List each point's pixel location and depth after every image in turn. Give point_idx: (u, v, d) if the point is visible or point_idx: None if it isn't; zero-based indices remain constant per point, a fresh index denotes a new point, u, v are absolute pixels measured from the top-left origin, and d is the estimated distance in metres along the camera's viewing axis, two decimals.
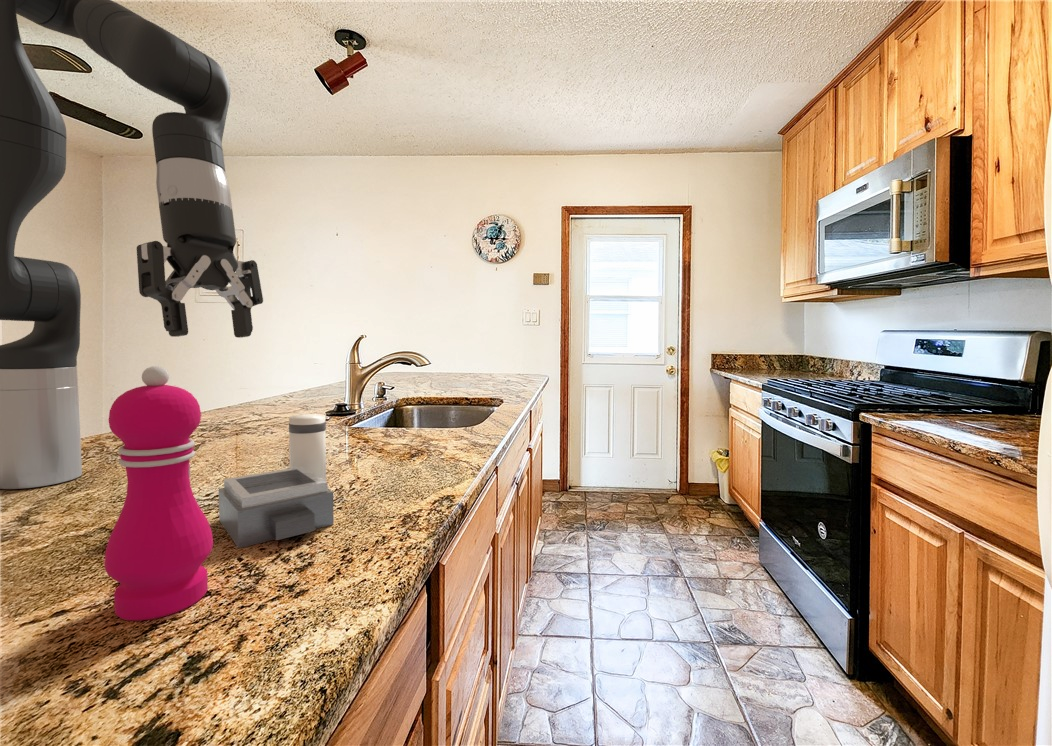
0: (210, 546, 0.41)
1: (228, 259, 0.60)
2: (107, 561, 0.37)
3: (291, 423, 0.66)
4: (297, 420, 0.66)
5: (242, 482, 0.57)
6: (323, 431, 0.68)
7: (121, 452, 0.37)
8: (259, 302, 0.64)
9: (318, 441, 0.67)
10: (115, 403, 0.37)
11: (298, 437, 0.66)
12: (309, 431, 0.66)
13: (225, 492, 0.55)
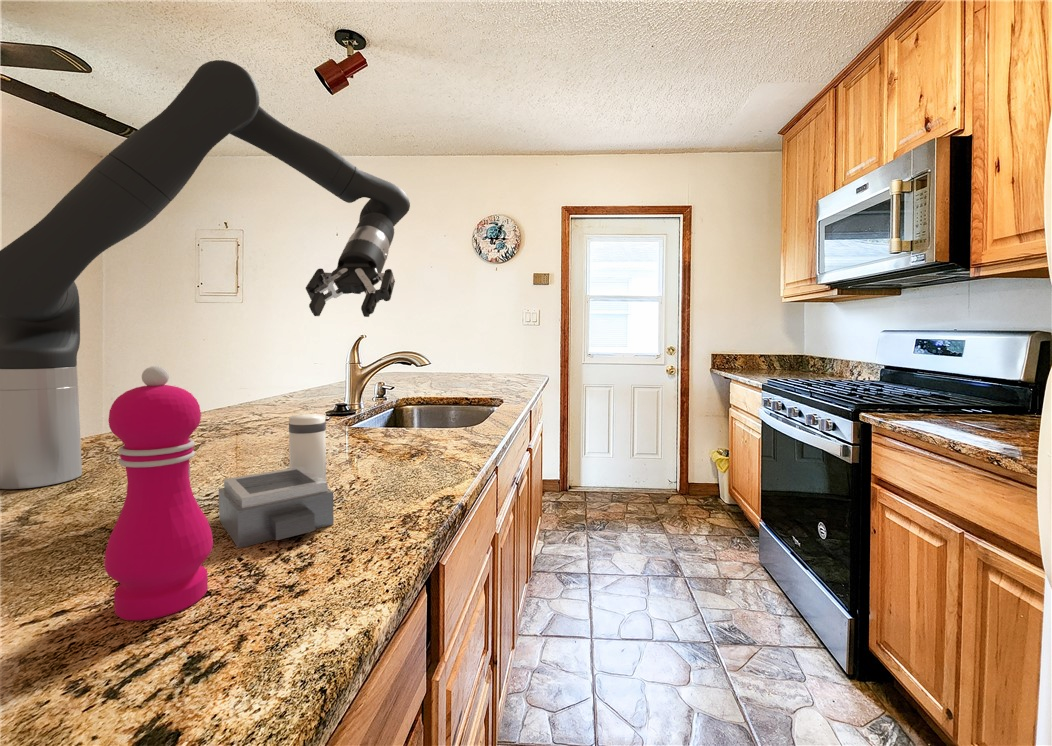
0: (210, 546, 0.41)
1: None
2: (107, 561, 0.37)
3: (291, 423, 0.66)
4: (297, 420, 0.66)
5: (242, 482, 0.57)
6: (323, 431, 0.68)
7: (121, 452, 0.37)
8: None
9: (317, 441, 0.67)
10: (115, 403, 0.37)
11: (298, 437, 0.66)
12: (309, 431, 0.66)
13: (225, 492, 0.55)
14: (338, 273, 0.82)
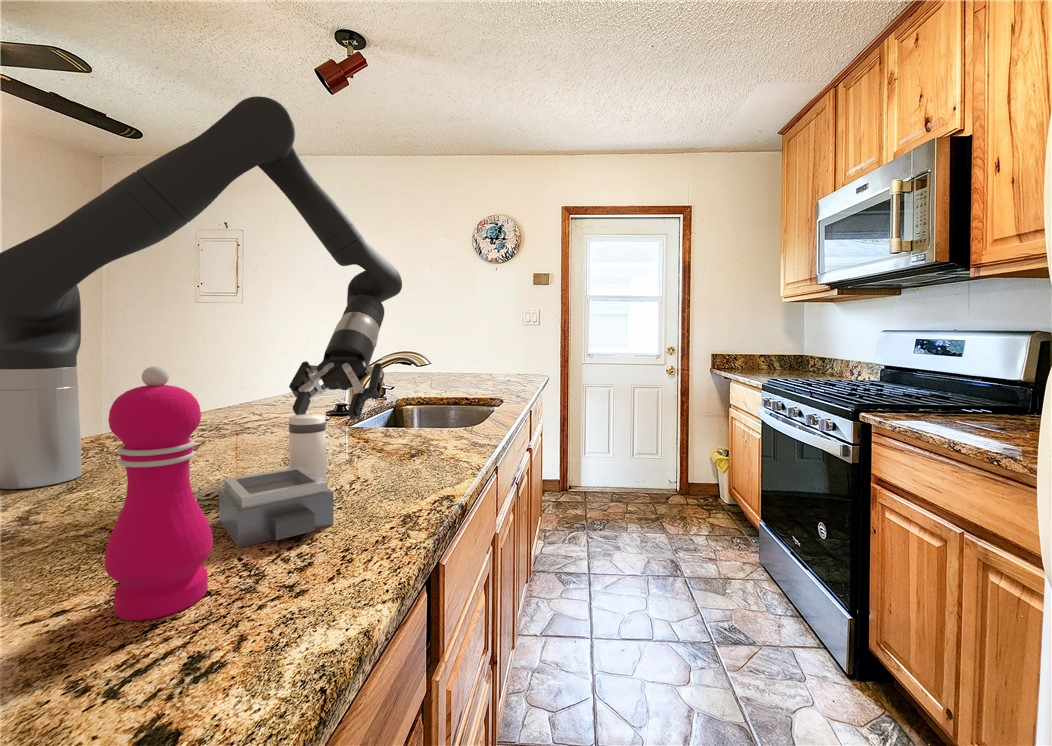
0: (210, 546, 0.41)
1: None
2: (107, 561, 0.37)
3: (291, 423, 0.66)
4: (297, 420, 0.66)
5: (242, 482, 0.57)
6: (323, 431, 0.68)
7: (121, 452, 0.37)
8: None
9: (317, 441, 0.67)
10: (115, 403, 0.37)
11: (298, 437, 0.66)
12: (309, 431, 0.66)
13: (225, 492, 0.55)
14: (324, 369, 0.78)
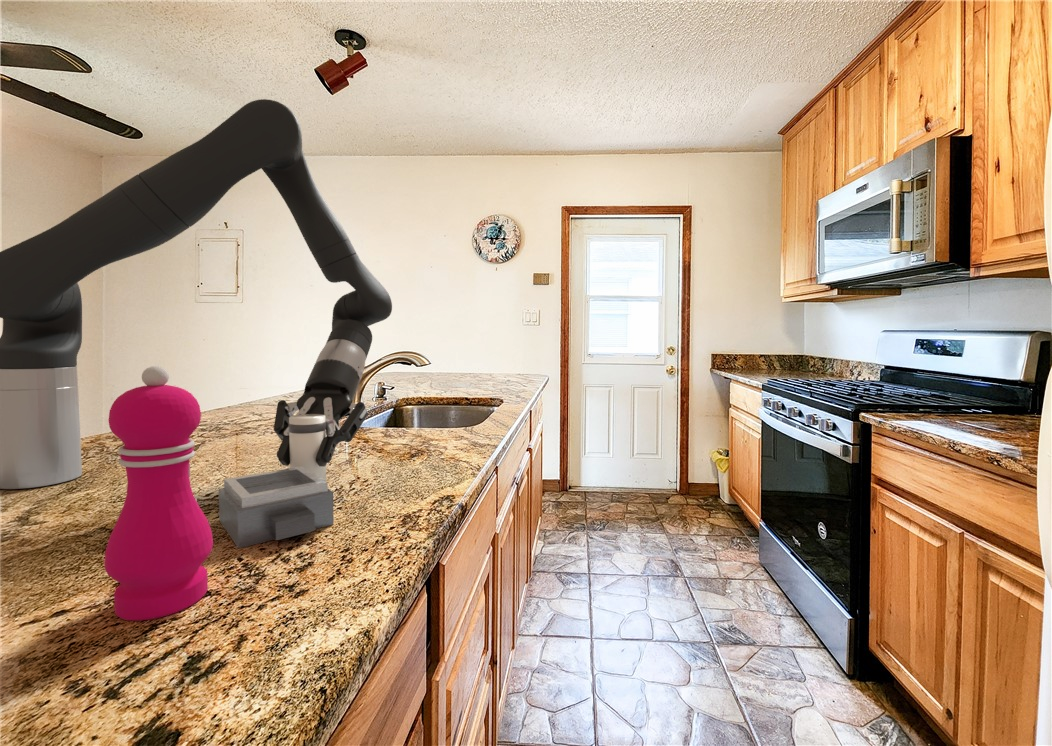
0: (210, 546, 0.41)
1: None
2: (107, 561, 0.37)
3: (291, 423, 0.66)
4: (297, 420, 0.66)
5: (242, 482, 0.57)
6: (323, 431, 0.68)
7: (121, 452, 0.37)
8: None
9: (318, 441, 0.67)
10: (115, 403, 0.37)
11: (298, 437, 0.66)
12: (309, 431, 0.66)
13: (225, 492, 0.55)
14: (305, 405, 0.71)
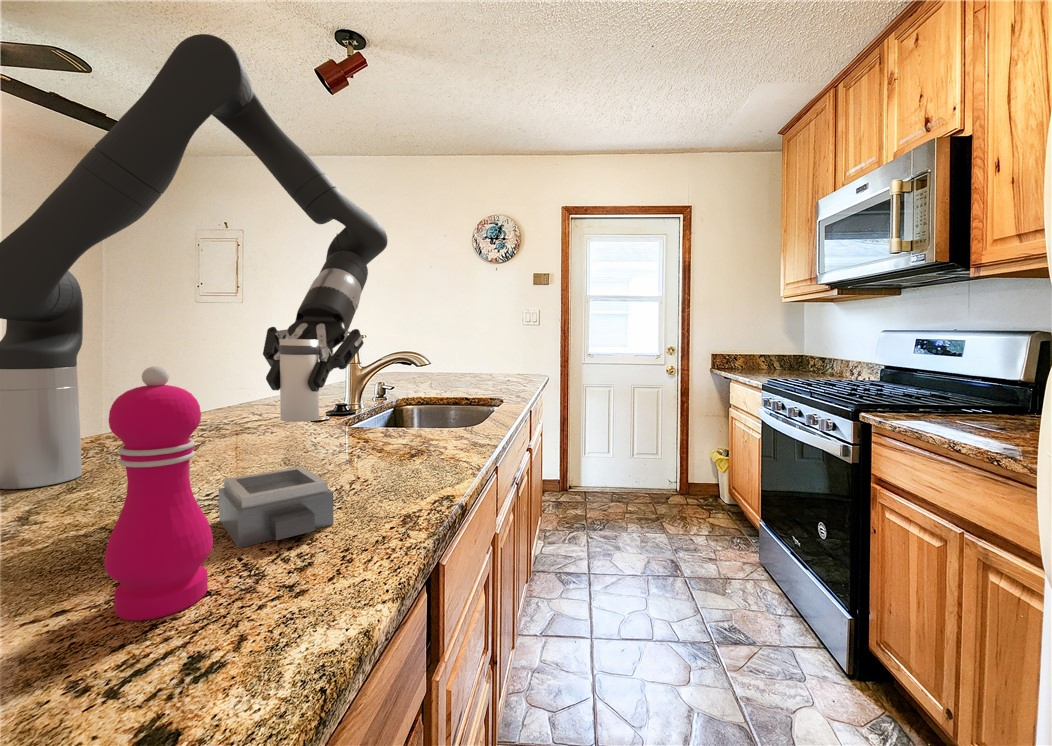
0: (210, 546, 0.41)
1: None
2: (107, 561, 0.37)
3: (282, 344, 0.62)
4: (288, 340, 0.62)
5: (242, 482, 0.57)
6: (316, 355, 0.64)
7: (121, 452, 0.37)
8: None
9: (310, 364, 0.63)
10: (115, 403, 0.37)
11: (289, 358, 0.62)
12: (301, 352, 0.62)
13: (225, 492, 0.55)
14: (297, 331, 0.67)
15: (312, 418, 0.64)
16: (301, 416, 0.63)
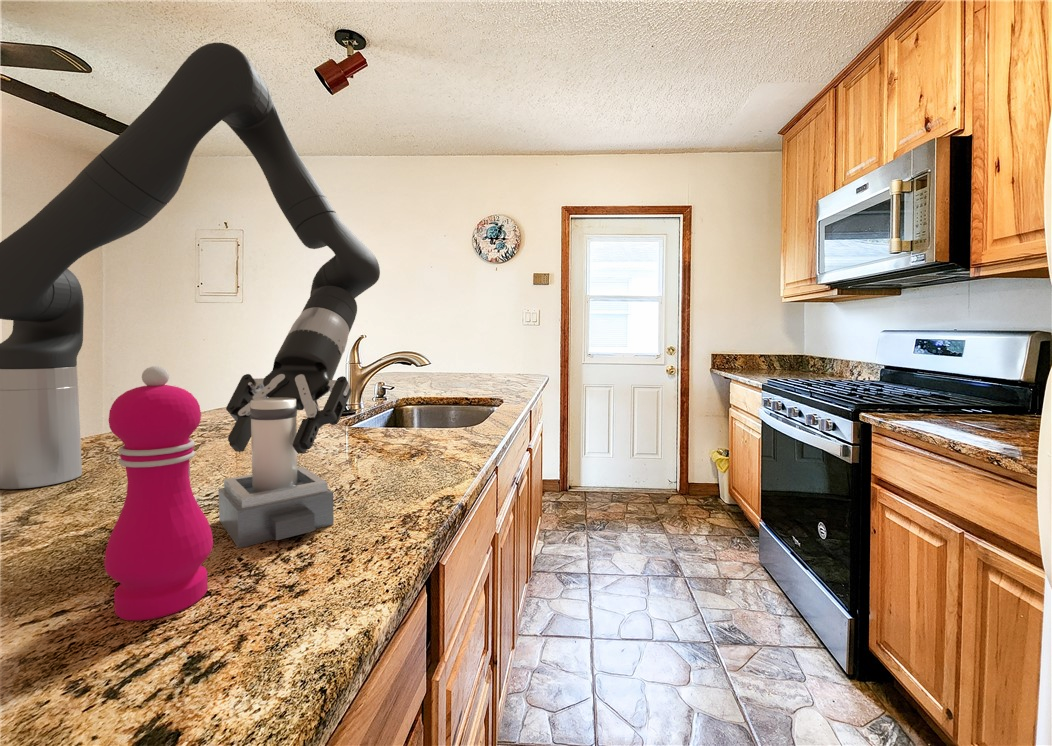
0: (210, 546, 0.41)
1: None
2: (107, 561, 0.37)
3: (253, 407, 0.54)
4: (260, 403, 0.53)
5: (242, 482, 0.57)
6: (293, 418, 0.56)
7: (121, 452, 0.37)
8: None
9: (286, 429, 0.55)
10: (115, 403, 0.37)
11: (261, 424, 0.54)
12: (275, 417, 0.54)
13: (225, 492, 0.55)
14: (272, 383, 0.59)
15: None
16: None
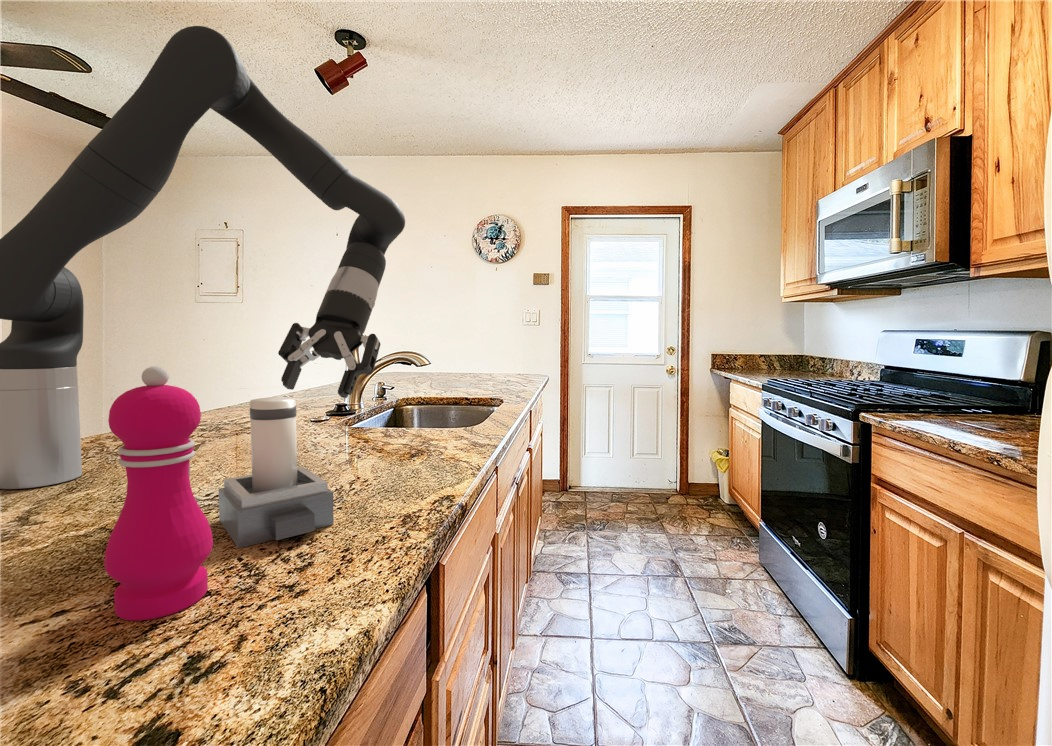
0: (210, 546, 0.41)
1: None
2: (107, 561, 0.37)
3: (252, 407, 0.54)
4: (259, 404, 0.53)
5: (242, 482, 0.57)
6: (293, 417, 0.56)
7: (121, 452, 0.37)
8: None
9: (285, 429, 0.55)
10: (115, 403, 0.37)
11: (260, 424, 0.54)
12: (274, 417, 0.54)
13: (225, 492, 0.55)
14: (315, 336, 0.72)
15: None
16: None
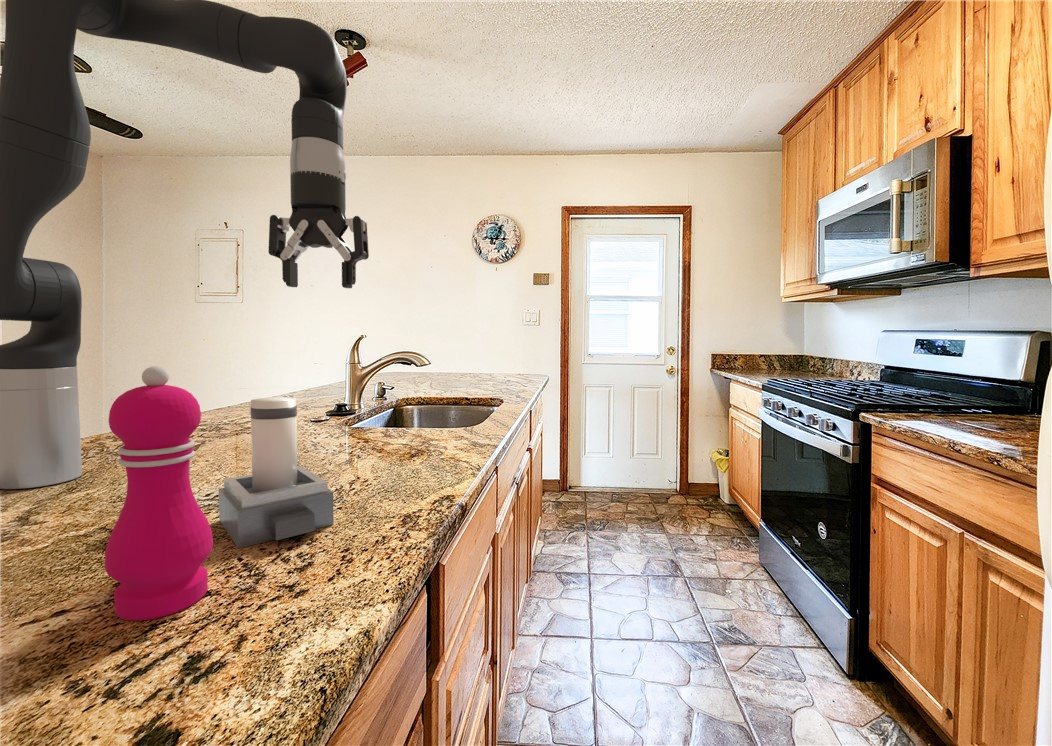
0: (210, 546, 0.41)
1: None
2: (107, 561, 0.37)
3: (253, 407, 0.54)
4: (260, 403, 0.54)
5: (242, 482, 0.57)
6: (293, 417, 0.56)
7: (121, 452, 0.37)
8: None
9: (286, 429, 0.55)
10: (115, 403, 0.37)
11: (261, 423, 0.54)
12: (275, 416, 0.54)
13: (225, 492, 0.55)
14: (299, 229, 0.69)
15: None
16: None
